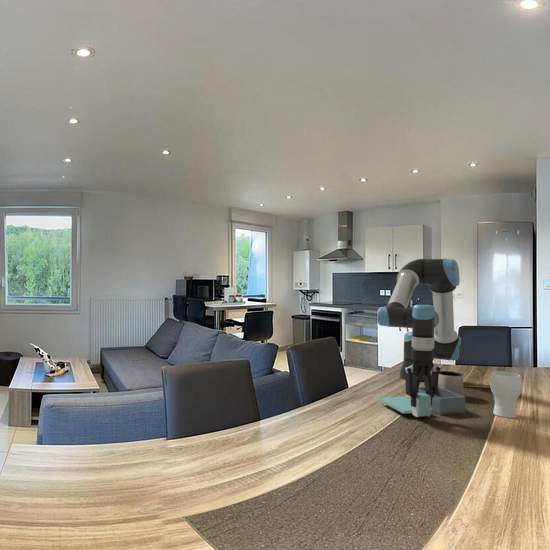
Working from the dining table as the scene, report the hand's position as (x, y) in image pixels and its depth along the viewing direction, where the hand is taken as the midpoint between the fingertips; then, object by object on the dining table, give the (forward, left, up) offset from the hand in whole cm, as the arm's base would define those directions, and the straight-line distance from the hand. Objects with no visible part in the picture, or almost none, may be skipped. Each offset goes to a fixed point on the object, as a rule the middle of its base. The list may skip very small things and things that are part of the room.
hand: (421, 415), depth 155 cm
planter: (-24, +31, -2) cm, 39 cm away
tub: (-10, +15, -1) cm, 18 cm away
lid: (-8, 0, 0) cm, 8 cm away
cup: (+3, +34, -1) cm, 34 cm away
